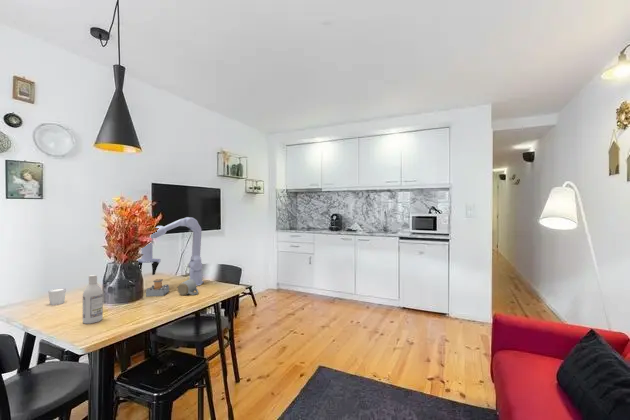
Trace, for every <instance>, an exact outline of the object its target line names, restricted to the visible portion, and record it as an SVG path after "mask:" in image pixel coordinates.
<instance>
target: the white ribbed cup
mask: <svg viewBox="0 0 630 420" xmlns="http://www.w3.org/2000/svg"><path fill="white" fill-rule="evenodd" d="M66 291H67V290H66V288H64V287H63V288H53V289H50V290H48V300H49V301H48V302H49V306H57V305H62V304H65V301H66V300H65V299H66Z"/></svg>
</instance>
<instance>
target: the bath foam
mask: <svg viewBox="0 0 630 420" xmlns="http://www.w3.org/2000/svg"><path fill="white" fill-rule="evenodd" d="M103 292H104V291H103V289H102V287H101V286H100V285H99V284H98V274H90V275H88V284H87V285H86V286H85V288H84V290H83V293H82V323H83V324H85V325H87V324H88V325H89V324H94V323H98V322H100V321H102V320H103V315H104V314H103V313H104V311H103V308H104V307H103V304H104V303H103V302H104V301H103V300H104V299H103V297H104V295H103V294H104V293H103Z"/></svg>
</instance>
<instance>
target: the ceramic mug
mask: <svg viewBox="0 0 630 420" xmlns="http://www.w3.org/2000/svg"><path fill="white" fill-rule="evenodd" d="M197 286H198V285H196V282H195V281H194V280H192V279H190V278H188V279H187V280H185V281H183V282H181V283H180V284H178V286H177V293H178V294H180V295H181V296H187V295H191V296H195V295H198V294H199V289H198V288H197Z"/></svg>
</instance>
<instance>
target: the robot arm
mask: <svg viewBox="0 0 630 420" xmlns="http://www.w3.org/2000/svg"><path fill="white" fill-rule="evenodd" d="M177 227H187V229H189V230H190V231H192V244H191V255H190V260H189V262H188V267H189V268H190V269H189V279H192V280H194V281H195V282H196V285H197V286H201V285H203V283H204V282H205V281H204V280H203V271H202V269H203V263H202V257H201V249H202V248H201V246H202V227H201V226H200V224H199V221H198V220H197V219H196V218H194V217H191V216H190V217H189V216H186V217H184V218H180V219H178V220H175V221H173V222H171V223H168V224H167V225H165V226H163V225H157V226H156V227H155V228H159V229H158V230H157V232H155V233H153V234H152V235H151V238H152V241H153V240H154V239H158V238H159V237H161V236H163V235H166V233H167V231H170V230H172V229H176V228H177ZM140 251H141V254H144V255H143V256H142V257H141V258H137V259H138V262H139V265H140V269H141V272H142V273H143V271H142V266H143V264H144V263H151V268H152V271H151V274H152V276H154V275H156V271H157V269H158V266H159V264H160V263H161V260H162V259H161V258H153V242H152V243H150V244H148V245H147V246H145V247H144V248H142V249H141V250H140Z"/></svg>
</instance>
